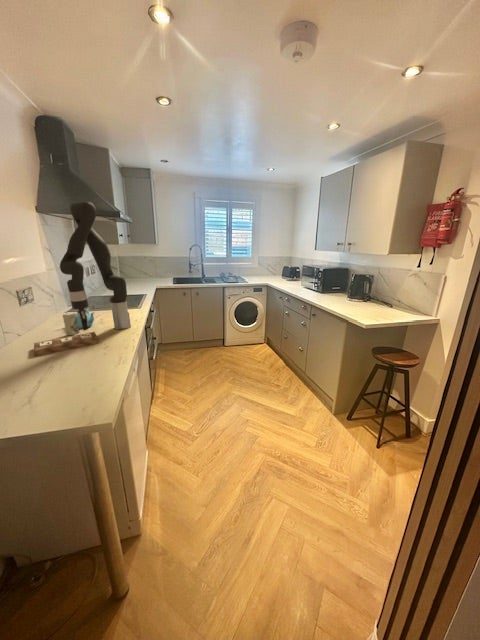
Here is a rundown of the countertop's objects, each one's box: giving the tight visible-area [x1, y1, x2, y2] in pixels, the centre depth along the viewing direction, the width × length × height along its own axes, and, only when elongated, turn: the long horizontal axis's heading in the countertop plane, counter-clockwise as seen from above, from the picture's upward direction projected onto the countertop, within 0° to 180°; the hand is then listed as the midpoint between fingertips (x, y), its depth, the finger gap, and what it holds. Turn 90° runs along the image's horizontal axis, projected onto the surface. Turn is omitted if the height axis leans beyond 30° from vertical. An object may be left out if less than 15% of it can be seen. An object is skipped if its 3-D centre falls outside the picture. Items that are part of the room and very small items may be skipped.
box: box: [62, 312, 80, 336], centre depth 151 cm, size 5×4×13 cm
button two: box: [40, 340, 53, 347], centre depth 131 cm, size 5×5×4 cm
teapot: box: [63, 307, 95, 330], centre depth 166 cm, size 15×15×10 cm
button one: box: [61, 336, 73, 343], centre depth 136 cm, size 5×5×4 cm
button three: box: [79, 333, 92, 339], centre depth 141 cm, size 5×5×4 cm
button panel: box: [33, 331, 100, 357], centre depth 136 cm, size 28×12×3 cm, turn 127°
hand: (85, 329), depth 140 cm, fingers closed
